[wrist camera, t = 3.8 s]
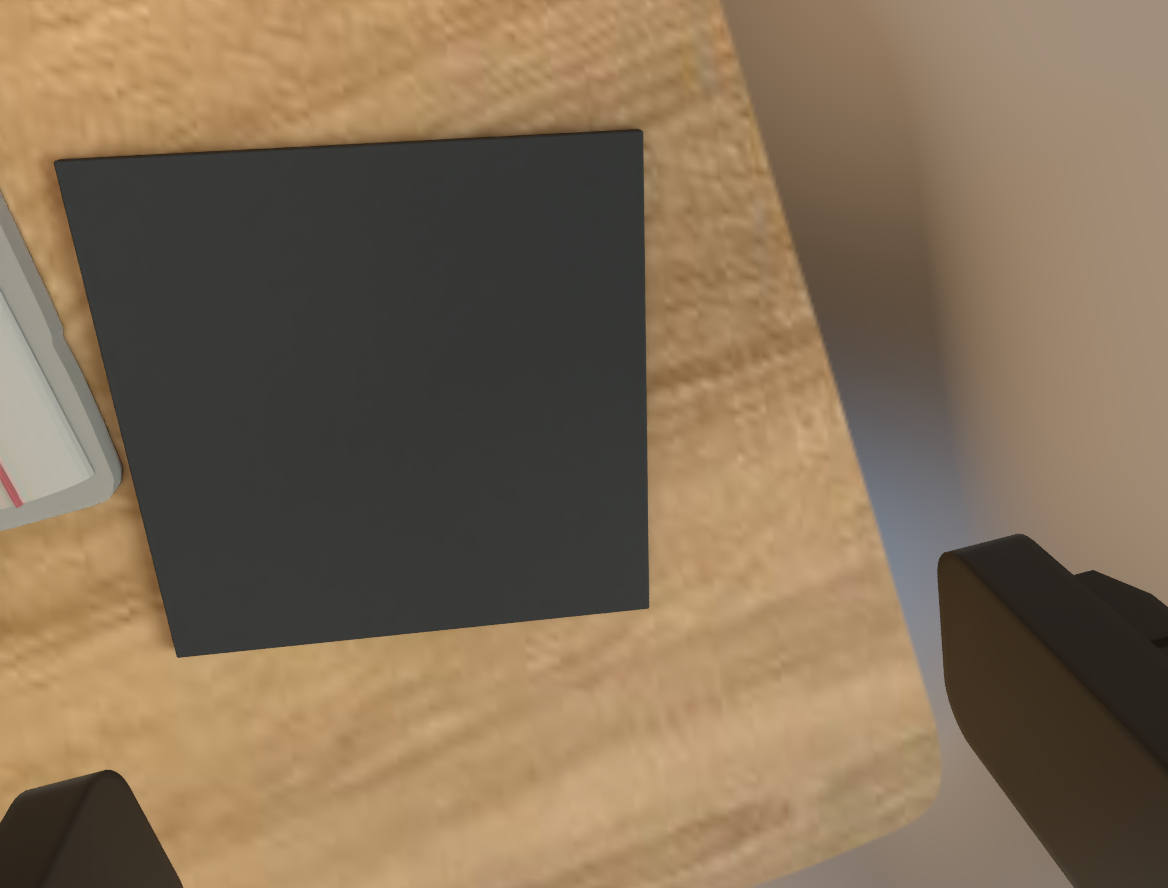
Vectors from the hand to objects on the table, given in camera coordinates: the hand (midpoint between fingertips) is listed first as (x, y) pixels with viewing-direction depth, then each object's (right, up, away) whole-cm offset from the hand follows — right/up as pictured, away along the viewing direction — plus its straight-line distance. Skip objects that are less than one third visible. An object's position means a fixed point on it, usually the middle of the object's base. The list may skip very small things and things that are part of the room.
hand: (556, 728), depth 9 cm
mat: (-7, +4, +28) cm, 29 cm away
